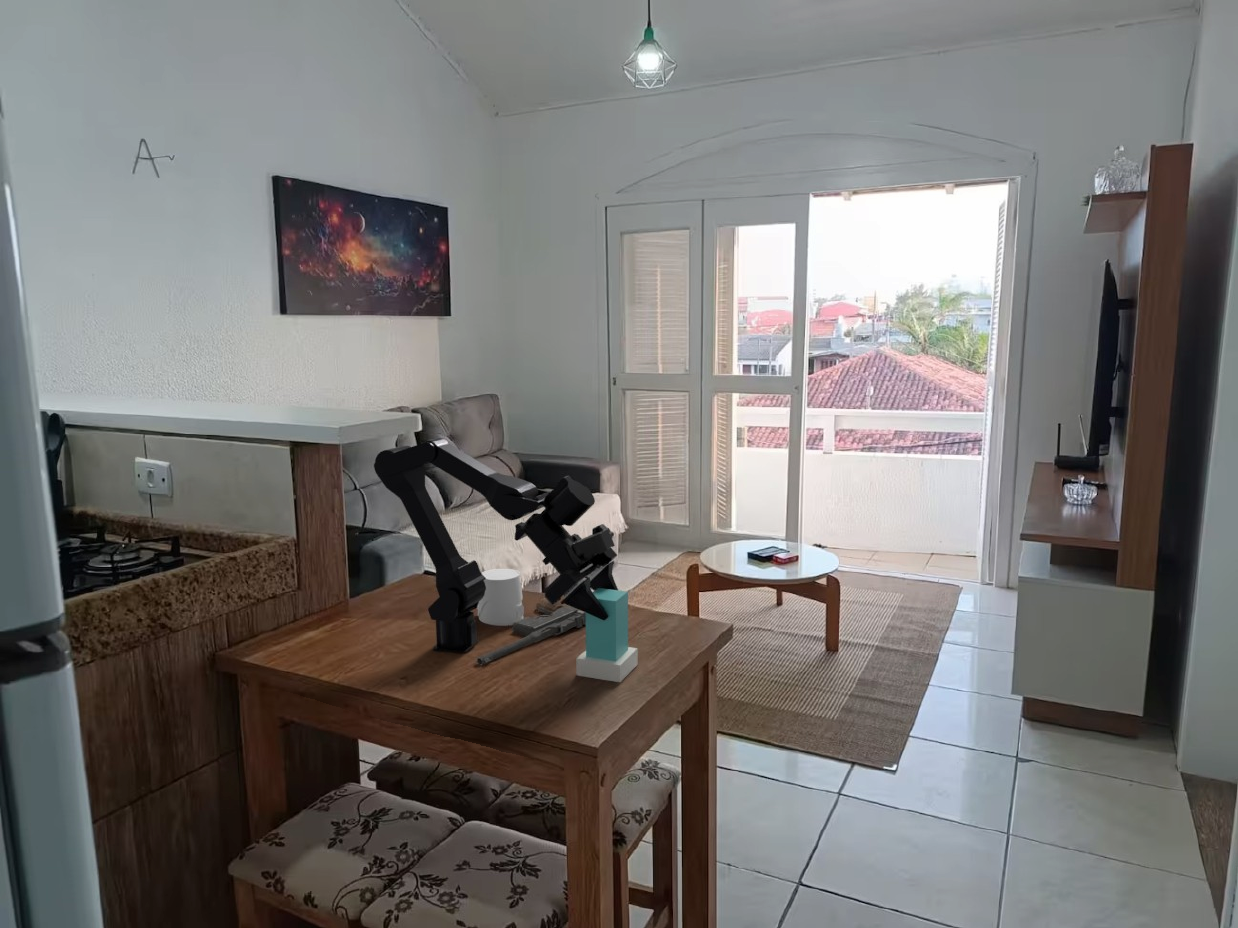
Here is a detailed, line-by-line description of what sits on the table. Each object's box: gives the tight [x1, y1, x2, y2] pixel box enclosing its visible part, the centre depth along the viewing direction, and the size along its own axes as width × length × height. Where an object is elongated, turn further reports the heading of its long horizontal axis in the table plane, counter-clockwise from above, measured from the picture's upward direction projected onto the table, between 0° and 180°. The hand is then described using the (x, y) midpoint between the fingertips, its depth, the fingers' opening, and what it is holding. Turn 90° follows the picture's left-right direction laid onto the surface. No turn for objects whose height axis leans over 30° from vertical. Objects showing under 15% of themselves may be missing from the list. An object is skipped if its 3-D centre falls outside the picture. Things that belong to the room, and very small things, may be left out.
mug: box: [475, 568, 525, 627], centre depth 175 cm, size 12×9×8 cm
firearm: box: [476, 597, 586, 666], centre depth 168 cm, size 3×30×15 cm
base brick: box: [575, 646, 639, 683], centre depth 150 cm, size 8×8×3 cm
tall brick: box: [585, 588, 629, 661], centre depth 149 cm, size 6×6×10 cm
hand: (614, 612), depth 148 cm, fingers open, 7 cm apart
